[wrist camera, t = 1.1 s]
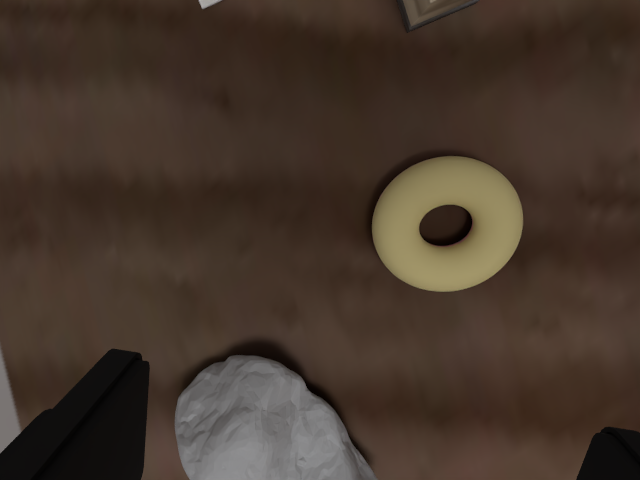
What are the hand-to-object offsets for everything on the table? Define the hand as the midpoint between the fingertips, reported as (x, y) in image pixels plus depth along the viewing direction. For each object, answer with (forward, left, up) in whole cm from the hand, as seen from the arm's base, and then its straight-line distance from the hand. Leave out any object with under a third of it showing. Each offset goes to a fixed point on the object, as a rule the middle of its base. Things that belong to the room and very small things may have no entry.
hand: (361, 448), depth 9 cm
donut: (-6, +3, -24) cm, 25 cm away
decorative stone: (+11, +15, -24) cm, 30 cm away
